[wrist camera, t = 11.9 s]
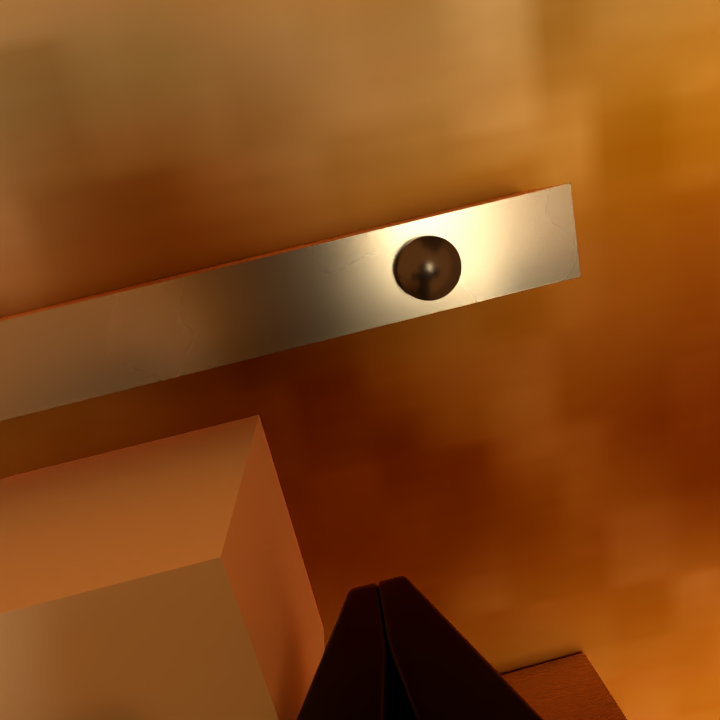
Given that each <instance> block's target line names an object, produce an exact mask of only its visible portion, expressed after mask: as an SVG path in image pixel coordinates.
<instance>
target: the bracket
mask: <svg viewBox="0 0 720 720" xmlns="http://www.w3.org/2000/svg"><path fill="white" fill-rule="evenodd" d="M577 277H581V276H580V266H579V257H578V248H577V239H576V229H575V220H574V211H573V202H572V193H571V183H569V184H563V185H557V186H551V187H546V188H540V189H534V190H528V191H523V192H518V193H514V194H510V195H506V196H502V197H498V198H493V199H489V200H485V201H481V202H477V203H473V204H469V205H465V206H460V207H456V208H452V209H448V210H444V211H440V212H436V213H432V214H427V215H423V216H419V217H415V218H411V219H407V220H403V221H398V222H394V223H390V224H386V225H382V226H378V227H374V228H370V229H365V230H361V231H357V232H353V233H349V234H345V235H341V236H337V237H332V238H328V239H324V240H320V241H316V242H312V243H308V244H304V245H299V246H295V247H291V248H287V249H283V250H279V251H275V252H270V253H266V254H262V255H258V256H254V257H250V258H246V259H242V260H237V261H233V262H229V263H225V264H221V265H217V266H213V267H209V268H204V269H200V270H196V271H192V272H188V273H184V274H180V275H176V276H171V277H167V278H163V279H159V280H155V281H151V282H147V283H143V284H138V285H134V286H130V287H126V288H122V289H118V290H114V291H109V292H105V293H101V294H97V295H93V296H89V297H85V298H81V299H76V300H72V301H68V302H64V303H60V304H56V305H52V306H48V307H43V308H39V309H35V310H31V311H27V312H23V313H19V314H15V315H10V316H6V317H2V318H0V421H2V420H6V419H10V418H14V417H18V416H23V415H27V414H31V413H35V412H39V411H43V410H47V409H51V408H55V407H59V406H63V405H67V404H71V403H75V402H79V401H83V400H87V399H91V398H95V397H99V396H103V395H107V394H111V393H115V392H119V391H123V390H127V389H131V388H135V387H139V386H143V385H147V384H151V383H155V382H159V381H163V380H167V379H171V378H175V377H179V376H183V375H187V374H191V373H195V372H199V371H203V370H207V369H211V368H215V367H219V366H223V365H227V364H231V363H235V362H239V361H243V360H247V359H251V358H255V357H259V356H263V355H267V354H271V353H275V352H279V351H283V350H287V349H291V348H295V347H300V346H304V345H308V344H312V343H316V342H320V341H324V340H328V339H332V338H336V337H340V336H344V335H348V334H352V333H356V332H360V331H364V330H368V329H372V328H376V327H380V326H384V325H388V324H392V323H396V322H400V321H404V320H408V319H412V318H416V317H420V316H424V315H428V314H432V313H436V312H440V311H444V310H448V309H452V308H456V307H460V306H464V305H468V304H472V303H476V302H480V301H484V300H488V299H492V298H496V297H500V296H504V295H508V294H512V293H516V292H520V291H524V290H528V289H532V288H536V287H540V286H544V285H548V284H552V283H556V282H560V281H564V280H568V279H572V278H577ZM501 676H502V677H503V678H504V679H505V680H506V681H507V682H508V683H509V684H510V685H511V686H512V687H513V688H514V689H515V690H516V691H517V692H518V693H519V694H520V696H521V697H522V698H523V699H524V700H525V701H526V702H527V703H528V704H529V705H530V706H531V707H532V708H533V709H534V710H535V711H536V712H537V713H538V714H539V715H540V716H541V717H542V718H543V719H544V720H627V719H626V717H625V716H624V714H623V713H622V711H621V709H620V708H619V706H618V705H617V703H616V702H615V700H614V699H613V697H612V695H611V694H610V692H609V691H608V689H607V688H606V686H605V685H604V683H603V682H602V680H601V678H600V677H599V675H598V674H597V672H596V671H595V669H594V668H593V666H592V664H591V663H590V661H589V660H588V658H587V657H586V655H585V654H584V653H580V654H577V655H573V656H569V657H566V658H562V659H558V660H555V661H551V662H548V663H544V664H540V665H537V666H533V667H529V668H526V669H522V670H518V671H515V672H511V673H508V674H504V675H501Z"/></svg>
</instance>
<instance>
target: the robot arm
mask: <svg viewBox="0 0 720 720" xmlns="http://www.w3.org/2000/svg"><path fill="white" fill-rule="evenodd" d="M296 720H544V719H543V718H542V717H541V716H540V715H539V714H538V713H537V712H536V711H535V710H534V709H533V708H532V707H531V706H530V705H529V704H528V703H527V702H526V701H525V700H524V699H523V698H522V697H521V696H520V694H519V693H518V692H517V691H516V690H515V689H514V688H513V687H512V686H511V685H510V684H509V683H508V682H507V681H506V680H505V679H504V678H503V677H502V676H501V675H500V674H499V673H498V672H497V671H496V670H495V669H494V668H493V667H492V666H491V664H490V663H489V662H488V661H487V660H486V659H485V658H484V657H483V656H482V655H481V654H480V653H479V652H478V651H477V650H476V649H475V648H474V647H473V646H472V645H471V644H470V643H469V642H468V641H467V640H466V639H465V638H464V637H463V636H462V634H461V633H460V632H459V631H458V630H457V629H456V628H455V627H454V626H453V625H452V624H451V623H450V622H449V621H448V620H447V619H446V618H445V617H444V616H443V615H442V614H441V613H440V612H439V611H438V610H437V609H436V608H435V607H434V606H433V604H432V603H431V602H430V601H429V600H428V599H427V598H426V597H425V596H424V595H423V594H422V593H421V592H420V591H419V590H418V589H417V588H416V587H415V586H414V585H413V584H412V583H411V582H410V581H409V580H408V579H407V578H406V577H404V576H399V577H395V578H391V579H388V580H384V581H381V582H380V583H379V584H378V586H377V585H376V584H369V585H365V586H361V587H357V588H354V589H351V590H350V591H349V592H348V595H347V597H346V599H345V602H344V604H343V607H342V609H341V612H340V614H339V617H338V619H337V621H336V624H335V626H334V629H333V631H332V634H331V636H330V639H329V641H328V643H327V646H326V648H325V651H324V653H323V656H322V658H321V661H320V663H319V666H318V668H317V670H316V673H315V675H314V678H313V680H312V683H311V685H310V688H309V690H308V692H307V695H306V697H305V700H304V702H303V705H302V707H301V710H300V712H299V715H298V717H297V719H296Z"/></svg>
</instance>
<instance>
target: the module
mask: <svg viewBox="0 0 720 720" xmlns="http://www.w3.org/2000/svg"><path fill="white" fill-rule="evenodd" d="M324 651H325V649H324V628H323V624H322V621H321V618H320V615H319V611H318V608H317V605H316V601H315V598H314V595H313V591H312V588H311V585H310V582H309V578H308V575H307V572H306V568H305V565H304V562H303V558H302V555H301V552H300V548H299V545H298V542H297V538H296V535H295V532H294V529H293V525H292V522H291V519H290V515H289V512H288V509H287V505H286V502H285V499H284V495H283V492H282V489H281V486H280V482H279V479H278V476H277V472H276V469H275V466H274V462H273V459H272V456H271V452H270V449H269V446H268V443H267V439H266V436H265V433H264V429H263V426H262V423H261V419H260V416H259V415H256V416H252V417H247V418H243V419H239V420H235V421H231V422H227V423H223V424H219V425H215V426H211V427H207V428H203V429H199V430H195V431H191V432H187V433H183V434H179V435H175V436H170V437H166V438H162V439H158V440H154V441H150V442H146V443H142V444H138V445H134V446H130V447H126V448H122V449H118V450H114V451H110V452H106V453H102V454H98V455H94V456H89V457H85V458H81V459H77V460H73V461H69V462H65V463H61V464H57V465H53V466H49V467H45V468H41V469H37V470H33V471H29V472H25V473H21V474H17V475H13V476H8V477H4V478H0V720H296V719H297V717H298V715H299V712H300V710H301V707H302V705H303V702H304V700H305V697H306V695H307V692H308V690H309V688H310V685H311V683H312V680H313V678H314V675H315V673H316V670H317V668H318V666H319V663H320V661H321V658H322V656H323V653H324Z"/></svg>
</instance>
